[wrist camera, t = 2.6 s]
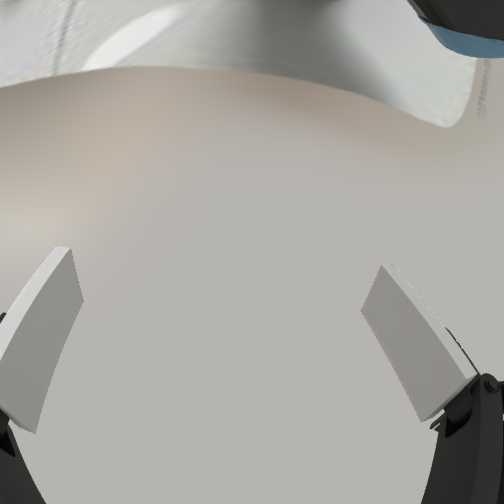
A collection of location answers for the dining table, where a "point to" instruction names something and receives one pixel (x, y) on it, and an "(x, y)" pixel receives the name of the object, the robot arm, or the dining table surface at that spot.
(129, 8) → the dining table surface
